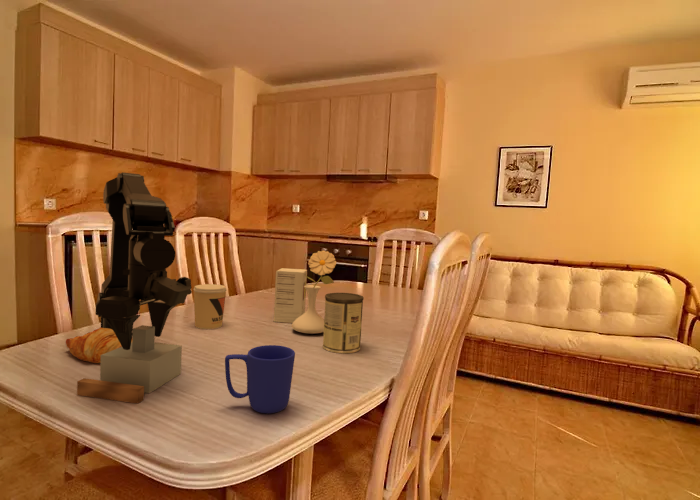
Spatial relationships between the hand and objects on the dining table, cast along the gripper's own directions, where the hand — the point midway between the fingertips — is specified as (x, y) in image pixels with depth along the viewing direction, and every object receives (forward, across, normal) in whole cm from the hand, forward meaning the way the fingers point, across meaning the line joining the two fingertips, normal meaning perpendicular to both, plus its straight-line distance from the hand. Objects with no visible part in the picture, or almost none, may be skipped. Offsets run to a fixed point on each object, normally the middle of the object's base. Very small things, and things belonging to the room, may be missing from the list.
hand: (142, 342), depth 80 cm
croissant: (+8, +8, +16) cm, 19 cm away
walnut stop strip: (+8, -8, 0) cm, 11 cm away
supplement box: (+8, +58, -12) cm, 60 cm away
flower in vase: (+8, +46, -23) cm, 52 cm away
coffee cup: (+8, +42, +8) cm, 43 cm away
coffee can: (+8, +34, -34) cm, 49 cm away
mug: (+8, -4, -26) cm, 27 cm away
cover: (+8, 0, 0) cm, 8 cm away
